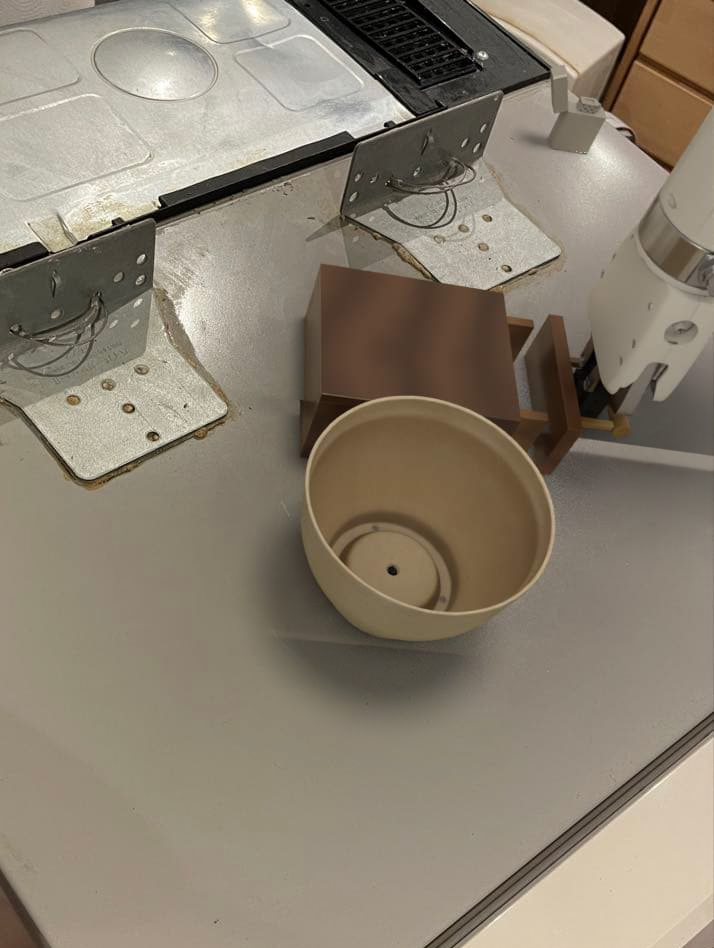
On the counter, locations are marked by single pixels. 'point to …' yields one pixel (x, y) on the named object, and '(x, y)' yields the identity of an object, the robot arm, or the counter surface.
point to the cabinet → (403, 347)
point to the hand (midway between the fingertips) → (575, 410)
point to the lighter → (573, 116)
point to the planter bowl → (423, 518)
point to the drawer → (552, 395)
